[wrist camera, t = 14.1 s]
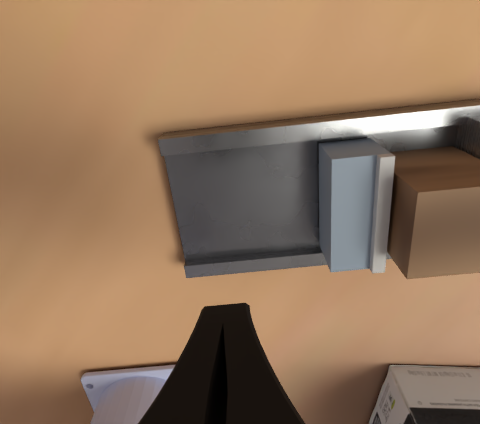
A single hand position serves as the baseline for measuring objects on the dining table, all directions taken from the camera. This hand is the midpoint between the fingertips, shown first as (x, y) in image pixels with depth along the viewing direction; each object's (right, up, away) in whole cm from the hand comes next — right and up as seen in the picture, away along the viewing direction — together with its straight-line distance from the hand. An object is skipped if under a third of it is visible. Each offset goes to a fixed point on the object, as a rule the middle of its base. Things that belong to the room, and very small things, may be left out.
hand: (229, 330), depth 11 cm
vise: (+5, +5, +9) cm, 11 cm away
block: (+9, +5, +8) cm, 13 cm away
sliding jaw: (+6, +4, +8) cm, 11 cm away
